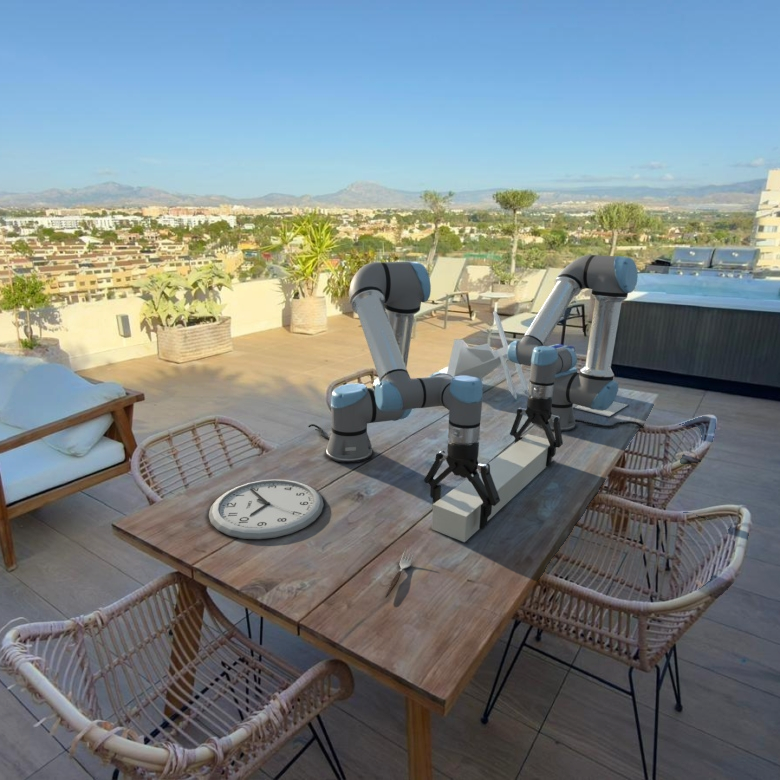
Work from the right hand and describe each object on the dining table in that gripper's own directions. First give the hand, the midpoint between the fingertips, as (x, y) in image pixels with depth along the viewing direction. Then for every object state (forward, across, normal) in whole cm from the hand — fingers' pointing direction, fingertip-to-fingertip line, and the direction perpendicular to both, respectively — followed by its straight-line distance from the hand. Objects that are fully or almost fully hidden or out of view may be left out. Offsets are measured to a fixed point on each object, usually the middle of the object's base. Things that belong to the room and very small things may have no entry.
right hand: (533, 460), depth 171 cm
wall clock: (0, -45, -73) cm, 86 cm away
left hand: (-2, 0, -50) cm, 50 cm away
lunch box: (0, -25, +85) cm, 88 cm away
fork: (+1, 0, -75) cm, 75 cm away
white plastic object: (0, -49, +57) cm, 75 cm away
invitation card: (0, +1, +72) cm, 72 cm away
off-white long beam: (0, 0, -25) cm, 25 cm away
